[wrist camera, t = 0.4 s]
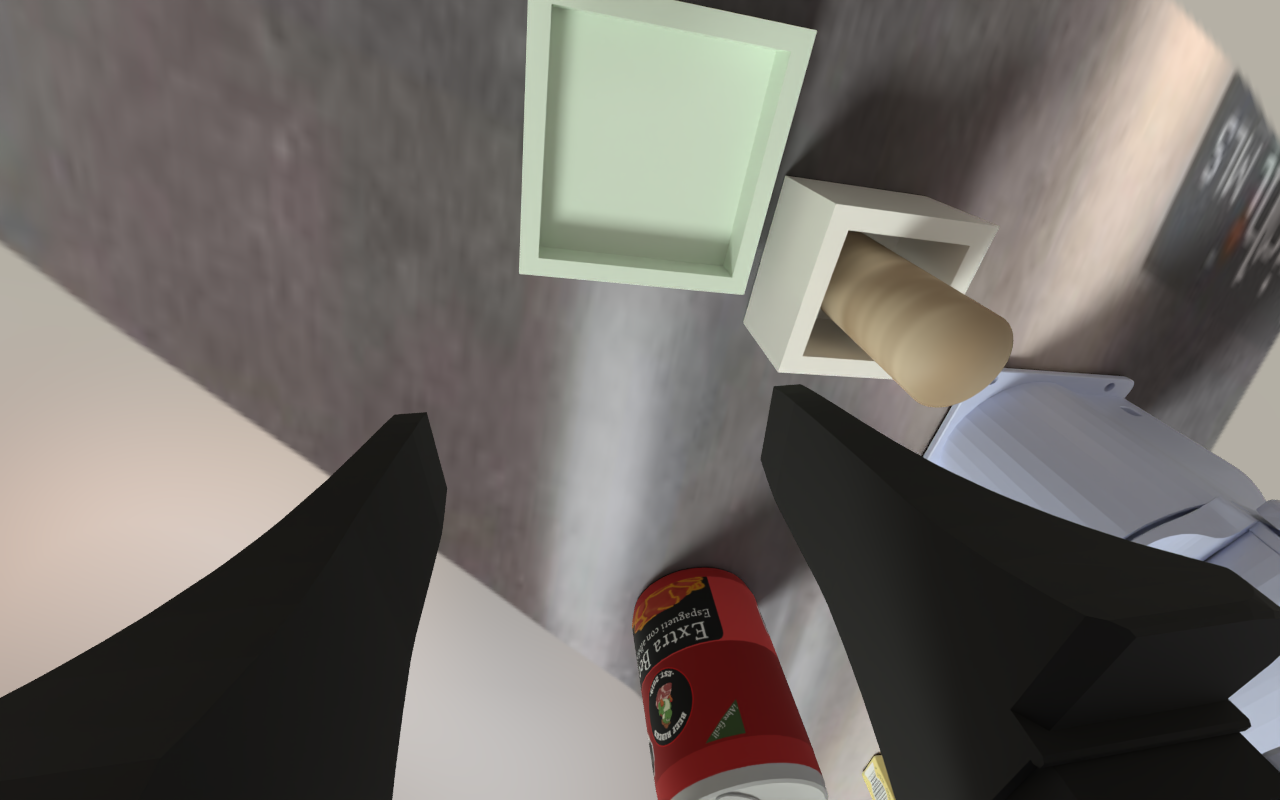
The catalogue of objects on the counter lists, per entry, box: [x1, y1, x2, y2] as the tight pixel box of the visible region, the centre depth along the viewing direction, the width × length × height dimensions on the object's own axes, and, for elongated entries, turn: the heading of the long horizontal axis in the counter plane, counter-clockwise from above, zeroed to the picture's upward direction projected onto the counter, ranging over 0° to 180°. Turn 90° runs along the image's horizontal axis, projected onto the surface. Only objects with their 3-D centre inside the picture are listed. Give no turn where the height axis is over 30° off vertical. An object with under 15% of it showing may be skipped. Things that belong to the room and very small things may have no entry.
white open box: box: [743, 176, 1000, 379], centre depth 19 cm, size 6×6×4 cm
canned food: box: [632, 568, 828, 800], centre depth 28 cm, size 8×8×11 cm
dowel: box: [820, 230, 1013, 407], centre depth 18 cm, size 3×3×8 cm
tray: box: [519, 0, 817, 295], centre depth 17 cm, size 8×8×2 cm
